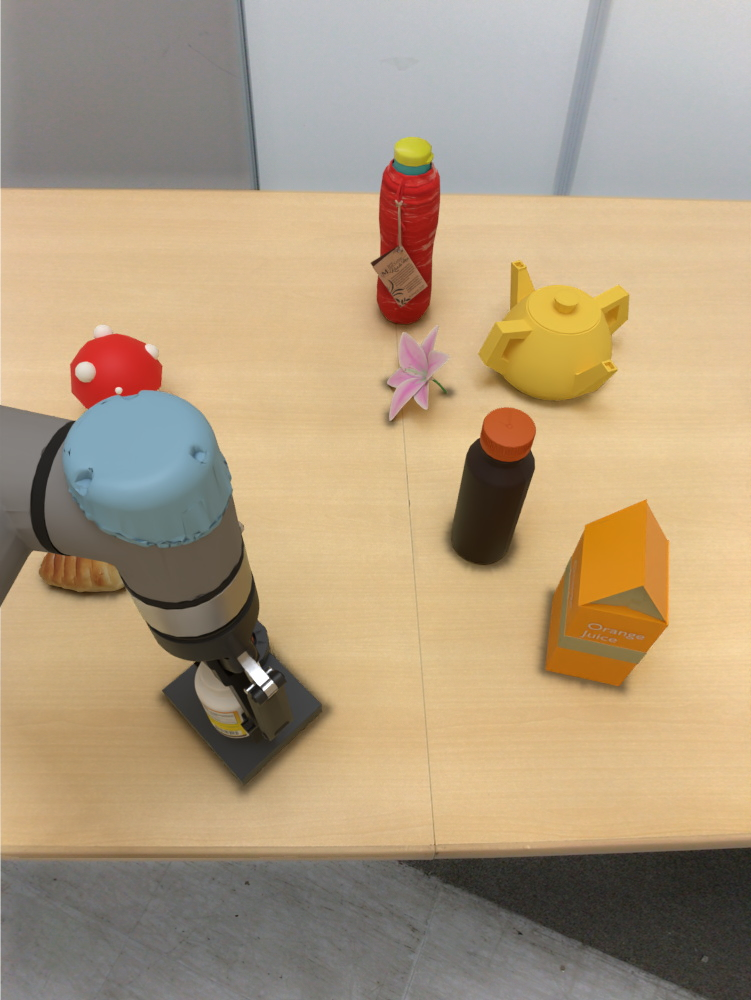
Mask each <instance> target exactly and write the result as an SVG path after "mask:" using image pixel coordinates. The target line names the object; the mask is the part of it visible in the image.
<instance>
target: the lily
mask: <svg viewBox="0 0 751 1000" xmlns="http://www.w3.org/2000/svg"><path fill="white" fill-rule="evenodd" d="M439 327H440V324H437V325H435V326H434V328H432V329H431V330H430V332H429V333H428V334H427V335H426V337H424V339H423V341H422V342H421V344H420V343H419V342H418V341H417V340H416V339H415V338H414V337H413V336H412V335H410V334H409V333H408V332H407V331H403V332H402V333H401V335H400V339H399V345H398V362H399V366H400V367H399V368H397V369H396V370H395V371H394V372H393V373H392V374H391V375H390V377H389V378H388V379H387V382H386V383H387V385H388V386H390V387H392V388H395V390H394V391H393V394H392V398H391V401H390V407H389V412H388V421H389V422H392V420H394V418H395V417H396V416H397V415H398V413H400V411H401V410H402V409H403V407H404V406H405V405H406V404H407V403H408V402H409V401H410V400H411V399H412V397H413V399H414V401H415V402H416V404H417V405H418V406H420V407H421V408H422V409H424V410H428V408H429V394H430V393H429V392H430V390H429V389H430V381H432V382H434V383H435V384H436V385H437V386H438V387H440V389H441V390H442V391H443V392H444V394H448V391H447V389H445V387H444V386H443V385H442V384H441V383H440V382H439V381H438V380H437V379H435V378H434V377H433V375H434V374H435V373H437V372H438V371H439V370H440V369H441V368H442V367H443V366H444V365H446V363H447V362H448V361H449V360H450V358H451V357H450V355H449V354H447V352H443V351H441V350H437V349H435V345H436V340H437V336H438V332H439Z"/></svg>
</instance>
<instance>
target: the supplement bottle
mask: <svg viewBox="0 0 751 1000" xmlns="http://www.w3.org/2000/svg"><path fill="white" fill-rule="evenodd" d="M257 664H258V665H259V666H260V664H259V662H257ZM260 667H261V666H260ZM195 689H196V692H197V695H198V697H199V699H200V701H201V703H202V705H203V707H204V709H205V711H206V713H207V715H208V717H209V719H210V721H211V723H212V725H213V726H214V727H215V729H216V730H217V731H218V732H220V733H221V734H223V735H225V736H227V737H231V738H243V737H247V736H249V734H248V733H247V732H246V731H245V730H244V729H243V727H242V726H241V725H240V724H241V723H242V722H243V718H242V716H241V714H242V713H244V711H243V709H242V708H241V706H240V704H239V703H238V701H237V699H236V698H235V696H234V694H233V692H232V691H231V689H230V687H229V686H228V687H226V686H224V685H223V684H222V683H221V682H220V681H219V680H218V679H217V678H216V677H215V676H214V674H213V672H212V671H211V669H210V668H209V667H208V666H207V665H206V664H205V663H204V662H201V663H200V665H199V667H198V669H197V672H196V675H195Z"/></svg>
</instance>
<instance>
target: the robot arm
mask: <svg viewBox="0 0 751 1000" xmlns="http://www.w3.org/2000/svg"><path fill="white" fill-rule="evenodd" d="M214 431H215V430H214V429H213V427H212V425H211V423H210V422H209V421H208V418H207V417H206V416H205V414H203V412H202V411H201V410H199V408H197V407H196V406H195V405H193V404H192V403H191V402H190V401H188V400H187V399H184V398H183V397H180V396H178V395H176V394H173V393H170V392H166V391H161V390H157V391H153V390H141V391H140V392H139V393H138V394H135V395H130V396H120V395H115V396H111V397H109V398H106V399H104V400H102V401H100V402H99V403H97V404H95V405H94V406H92V407H91V408H89V409H86V410H85V411H84V412H83V413H82V414H81V415H80V416H79V417H78V418H77V419H76V420H73V419H68V418H63V417H60V416H55V415H49V414H45V413H39V412H36V411H30V410H25V409H21V408H16V407H12V406H7V405H2V404H0V608H1V606H2V605H3V604H4V602H5V600H6V598H7V596H8V595H9V593H10V591H11V589H12V587H13V586H14V583H15V581H16V580H17V578H18V576H19V575H20V573H21V572H22V569H23V567H24V565H25V564H26V563H27V560H28V558H29V557H30V555H31V554H32V552H41V553H46V554H47V553H54V554H59V555H64V556H76V557H81V558H86V559H91V560H96V561H101V562H106V563H109V564H111V565H113V566H115V568H116V569H117V570H118V572H119V575H120V577H121V579H122V581H123V584H124V588H125V589H126V592H127V593H128V595H129V597H130V598H131V600H132V602H133V604H134V605H135V607H136V609H137V611H138V612H139V614H140V615H141V617H142V619H143V620H144V621H145V623H146V626H147V627H148V628H149V630H150V632H151V634H152V636H153V638H154V639H155V641H156V643H157V644H158V645H159V646H160V647H161V648H162V649H163V650H164V651H165V652H167V654H169V655H170V656H172V657H174V658H178V659H180V660H183V661H187V662H193V664H194V665H195V667H196V669H198V667H199V665H200V663H201V662H204V663H205V664H206V665H207V666H208V667H209V668H210V669H211V671H212V672H213V674H214V676H215V677H216V678H217V679H218V680H219V681H220V682H221V683H222V684H223V685H224V686H226V687H228V686H229V687H230V689H231V691H232V692H233V694H234V696H235V698H236V699H237V701H238V703H239V704H240V706H241V708H242V709H243V711H244V713H242V714H241V716H242V718H243V722H242V723H241V724H240V725H241V726H242V727H243V729H244V730H245V731H246V732H247V733H248V734H249V735H250V738H251V739H252V741H253V742H254V743H255V744H256V745H257V744H258V743H259V742H260V741H261V740H262V739H263V738H264V737H265V738H266V739H267V740H270V741H271V740H272V739H273V738H274V737H276V736H277V735H278V734H279V733H280V732H281V731H282V730H283V729H284V728H285V727H286V726H287V725H288V724H289V723H290V722H292V721H293V720H294V719H293V715H292V712H291V709H290V705H289V702H288V698H287V695H286V692H285V688H284V685H285V683H286V679H285V678H284V677H285V676H284V675H283V673H282V672H280V671H278V670H276V669H275V670H273V669H272V668H271V667H268V668H267V669H266V670H264V671H263V670H262V668H261V667H260V666H259V665H258V664H257V662H258V660H259V659H260V654H259V652H258V650H257V648H256V647H255V645H254V643H253V641H252V635H253V634H252V633H253V630H254V628H255V625H256V622H257V620H259V614H260V599H259V593H258V589H257V586H256V585H257V584H256V582H255V581H256V580H255V577H254V574H253V571H252V568H251V565H250V560H249V557H248V553H247V548H246V545H245V541H244V537H243V532H244V531H245V524H243V523H242V522H241V521H240V520H239V519H238V514H237V513H238V512H237V509H236V505H235V501H234V496H233V492H234V488H233V485H232V475H231V472H230V471H231V470H230V468H229V465H228V461H227V460H226V457H225V456H224V454H223V453H222V451H221V449H220V446H219V442H218V440H217V436H216V434H215V432H214Z"/></svg>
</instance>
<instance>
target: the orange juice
mask: <svg viewBox="0 0 751 1000" xmlns="http://www.w3.org/2000/svg"><path fill="white" fill-rule="evenodd" d="M564 569H565V570H564V572H563V573H562V576H561V578H560V580H559V582H558V585H557V586H556V589H555V590H554V593H553V595H552V600H551V601H552V602H551V612H550V621H549V630H548V638H547V639H548V640H547V649H546V658H545V659H546V660H545V669H544V670H545V671H547V672H553V673H557V674H560V675H561V674H562V675H566V676H570V677H575V678H578V679H579V678H580V679H583V680H589V681H594V682H597V683H602V684H607V685H611V686H615V687H620V686H621V685H622V684H623V682H624V681H625V680H626V679H627V677H628V676H629V675H630V674H631V673H632V671H633V670H634V669H635V667H636V666H637V665H639V664H640V662H641V661H642V660H643V659H644V657H645V656H646V655H647V653H648V651H649V650H650V649H651V648H652V646H653V645H654V644H655V643H656V642H657V640H658V639H659V638H660V636H661V635H662V634H663V633H664V632H665V631H666V630H667V628H668V627H669V623H670V621H669V620H670V616H669V615H670V612H669V611H670V540H669V539H668V538H667V537H666V535H665V533H664V531H663V529H662V527H661V525H660V523H659V522H658V520H657V518H656V517H655V515H654V513H653V511H652V509H651V508H650V506H649V504H648V499H647V498H645V499H644V500H641V501H639V502H636V503H634V504H632V505H629V506H627V507H625V508H622V509H619V510H617V511H615V512H612V513H609V514H608V515H604V516H603V517H601V518H600V517H599V518H598V519H595V520H594V521H591V522H588V523H586V524H584V529H583V532H582V533H581V535H580V538H579V540H578V542H577V544H576V546H575V549H574V550H573V553H572V555H571V556H570V558H569V561H568V562H567V564H566V565H565V568H564Z"/></svg>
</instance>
